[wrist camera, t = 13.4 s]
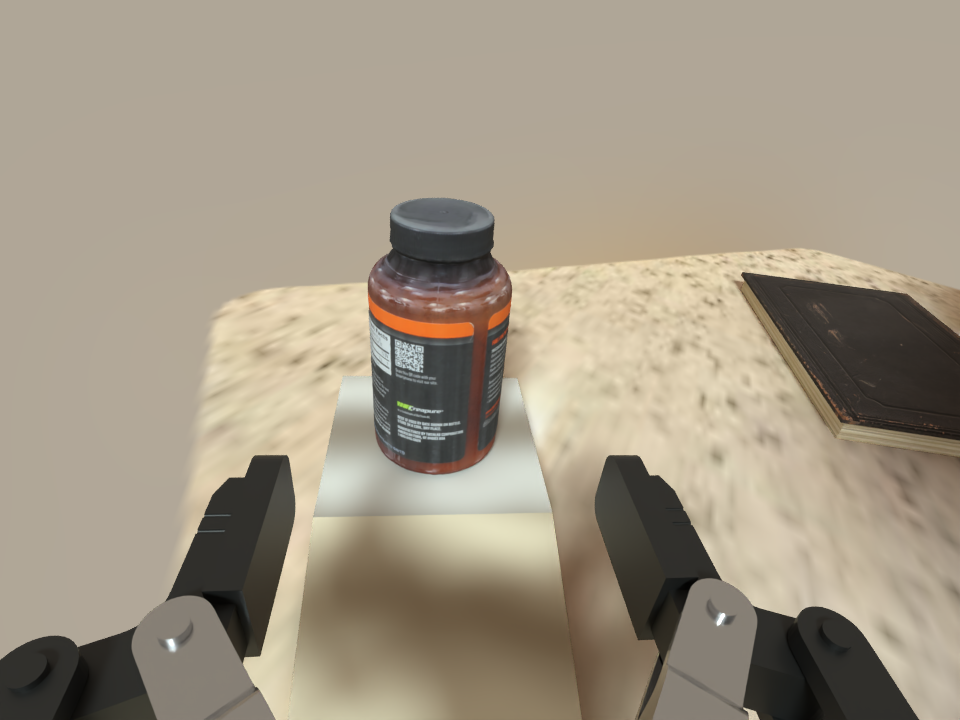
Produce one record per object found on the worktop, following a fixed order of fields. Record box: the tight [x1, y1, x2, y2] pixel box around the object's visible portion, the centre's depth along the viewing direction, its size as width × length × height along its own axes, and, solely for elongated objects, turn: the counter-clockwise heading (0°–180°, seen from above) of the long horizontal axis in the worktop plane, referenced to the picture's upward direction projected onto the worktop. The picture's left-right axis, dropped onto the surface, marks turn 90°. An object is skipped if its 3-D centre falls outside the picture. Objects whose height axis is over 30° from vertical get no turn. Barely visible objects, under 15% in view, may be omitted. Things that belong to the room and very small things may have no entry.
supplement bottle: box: [368, 198, 512, 475], centre depth 23 cm, size 6×6×11 cm
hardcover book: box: [741, 272, 960, 457], centre depth 42 cm, size 16×23×2 cm
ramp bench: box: [287, 376, 582, 720], centre depth 24 cm, size 18×10×4 cm, turn 5°
